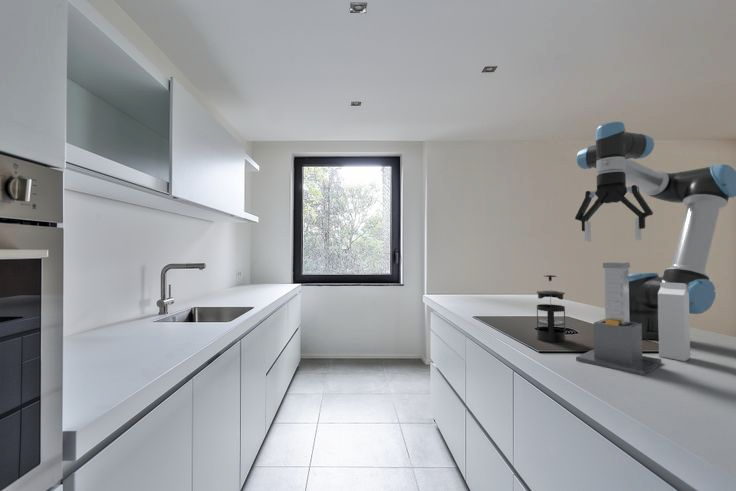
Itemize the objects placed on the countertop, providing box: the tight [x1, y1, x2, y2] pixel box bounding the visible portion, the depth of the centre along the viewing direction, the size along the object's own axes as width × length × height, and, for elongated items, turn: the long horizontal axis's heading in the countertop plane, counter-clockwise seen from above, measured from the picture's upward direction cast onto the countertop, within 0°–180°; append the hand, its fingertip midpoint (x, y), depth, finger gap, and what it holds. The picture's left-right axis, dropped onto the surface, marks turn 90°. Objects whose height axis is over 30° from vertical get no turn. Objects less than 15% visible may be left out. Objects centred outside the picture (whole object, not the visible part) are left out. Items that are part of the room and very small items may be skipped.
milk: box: [658, 282, 691, 362], centre depth 105 cm, size 6×6×22 cm
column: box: [602, 261, 631, 326], centre depth 101 cm, size 7×4×20 cm, turn 129°
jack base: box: [575, 318, 662, 376], centre depth 101 cm, size 16×16×12 cm
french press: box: [536, 274, 567, 344], centre depth 127 cm, size 12×9×23 cm
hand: (612, 240), depth 111 cm, fingers open, 13 cm apart
